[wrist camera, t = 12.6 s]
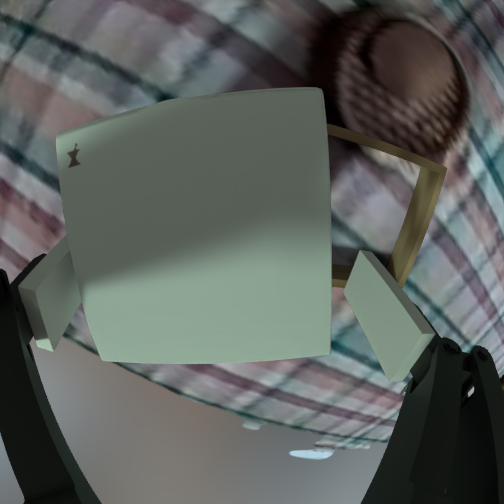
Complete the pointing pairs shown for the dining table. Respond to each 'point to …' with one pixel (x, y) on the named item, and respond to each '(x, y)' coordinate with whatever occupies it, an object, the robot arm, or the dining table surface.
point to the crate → (417, 211)
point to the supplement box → (203, 227)
